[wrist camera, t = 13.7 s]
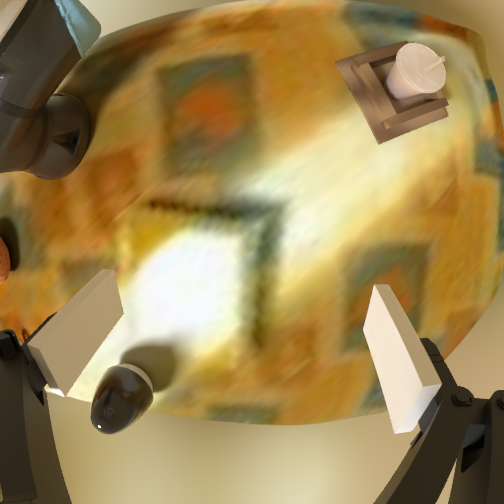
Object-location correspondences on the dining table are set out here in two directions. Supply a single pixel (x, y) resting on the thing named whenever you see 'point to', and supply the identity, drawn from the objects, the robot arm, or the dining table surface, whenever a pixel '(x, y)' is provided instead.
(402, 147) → the dining table surface
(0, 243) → the potato
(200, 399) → the dining table surface
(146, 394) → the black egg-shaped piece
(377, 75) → the box
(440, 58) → the smoothie
